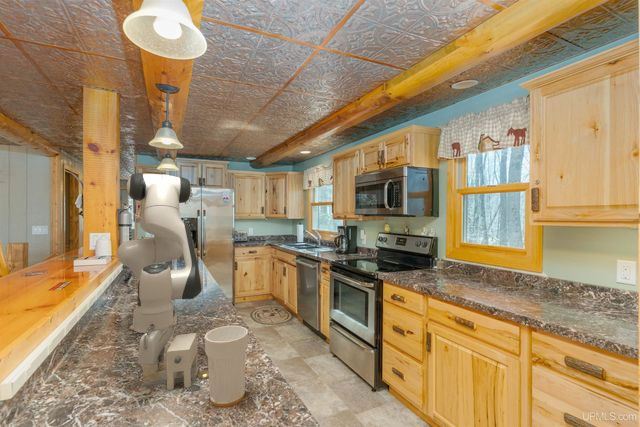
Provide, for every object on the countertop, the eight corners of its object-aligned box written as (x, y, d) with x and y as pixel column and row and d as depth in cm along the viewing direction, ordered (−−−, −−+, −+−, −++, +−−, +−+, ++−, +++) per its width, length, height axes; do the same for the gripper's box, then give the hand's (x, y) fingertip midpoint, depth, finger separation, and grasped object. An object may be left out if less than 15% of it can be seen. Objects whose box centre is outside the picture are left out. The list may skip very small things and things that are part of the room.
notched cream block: (177, 368, 98) (176, 334, 98) (197, 366, 99) (196, 333, 99) (166, 392, 85) (165, 353, 85) (189, 389, 87) (188, 350, 87)
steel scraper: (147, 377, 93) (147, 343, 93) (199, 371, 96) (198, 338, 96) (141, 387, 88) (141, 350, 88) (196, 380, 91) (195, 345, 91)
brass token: (198, 373, 95) (197, 370, 95) (212, 370, 97) (212, 368, 97) (196, 380, 91) (196, 378, 91) (212, 378, 93) (212, 375, 93)
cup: (253, 384, 89) (252, 325, 88) (242, 410, 77) (241, 342, 77) (215, 384, 89) (214, 325, 89) (198, 409, 78) (197, 342, 77)
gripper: (157, 331, 82) (158, 383, 82) (176, 308, 101) (177, 349, 102) (131, 334, 80) (132, 386, 80) (155, 309, 100) (156, 351, 100)
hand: (157, 365), depth 91 cm, fingers closed on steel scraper, 3 cm apart
